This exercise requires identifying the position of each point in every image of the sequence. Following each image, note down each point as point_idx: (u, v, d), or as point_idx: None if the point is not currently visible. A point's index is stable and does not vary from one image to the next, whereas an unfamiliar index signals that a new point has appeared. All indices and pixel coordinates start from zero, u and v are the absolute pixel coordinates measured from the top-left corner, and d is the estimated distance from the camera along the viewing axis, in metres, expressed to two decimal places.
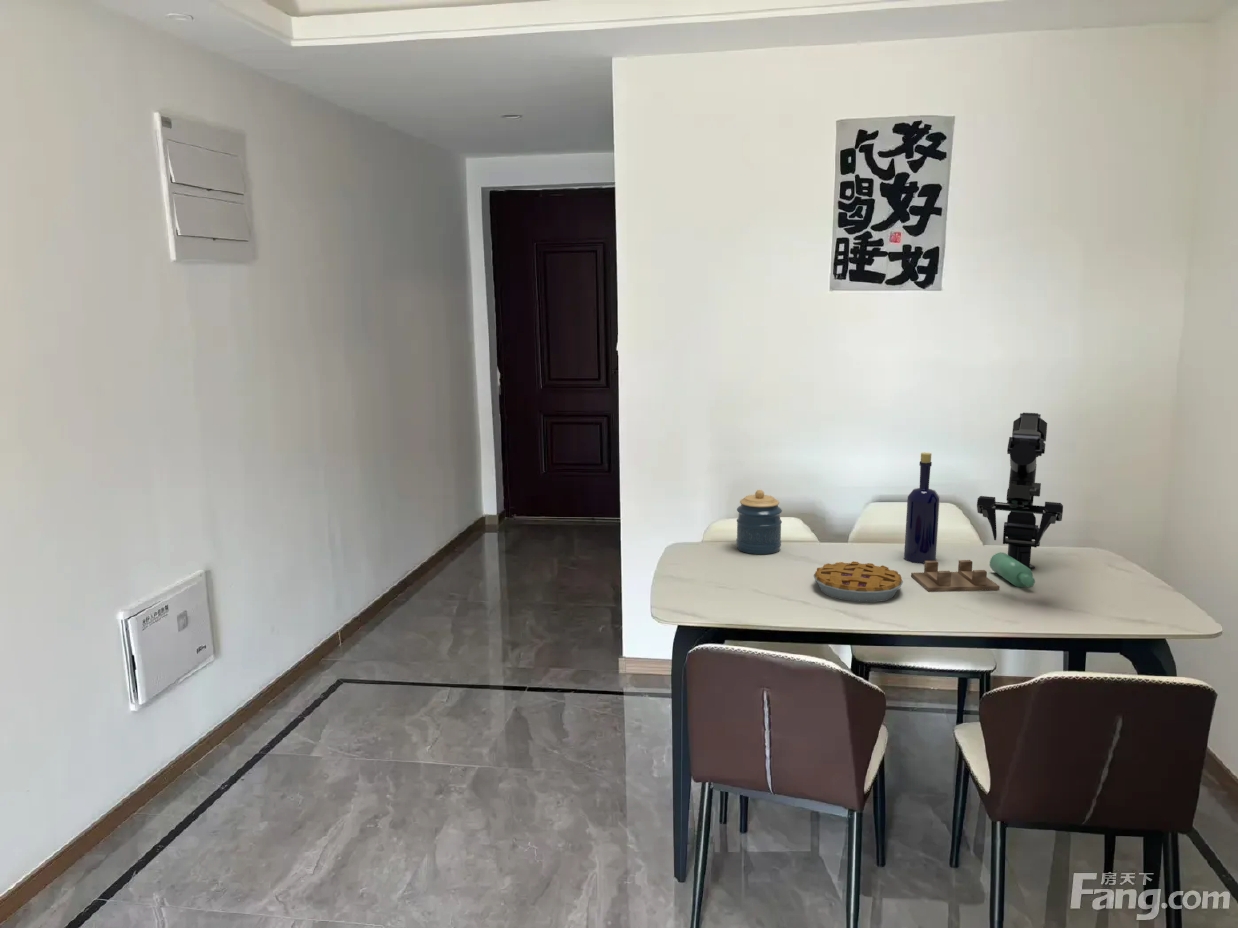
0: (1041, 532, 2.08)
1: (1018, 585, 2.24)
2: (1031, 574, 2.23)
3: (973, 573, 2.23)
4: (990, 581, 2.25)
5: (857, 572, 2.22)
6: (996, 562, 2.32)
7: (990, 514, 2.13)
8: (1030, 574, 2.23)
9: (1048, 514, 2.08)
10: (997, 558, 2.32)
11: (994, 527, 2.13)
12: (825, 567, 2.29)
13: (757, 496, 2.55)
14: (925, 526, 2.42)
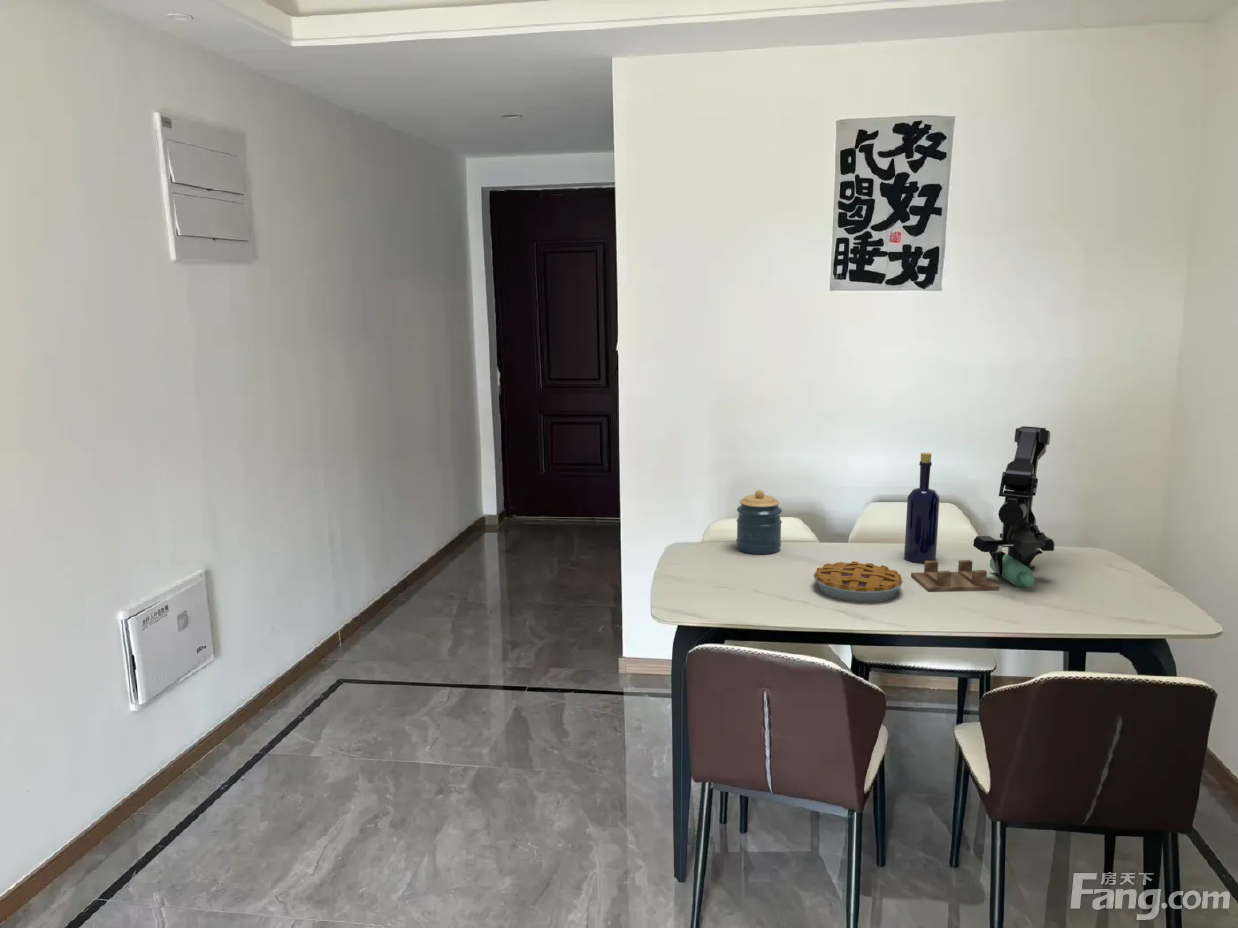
0: (1027, 566, 2.28)
1: (1018, 585, 2.24)
2: (1031, 574, 2.23)
3: (973, 573, 2.23)
4: (990, 581, 2.25)
5: (857, 572, 2.22)
6: None
7: (999, 556, 2.26)
8: (1030, 574, 2.23)
9: (1036, 553, 2.25)
10: None
11: (1001, 566, 2.27)
12: (825, 567, 2.29)
13: (757, 496, 2.55)
14: (925, 526, 2.42)
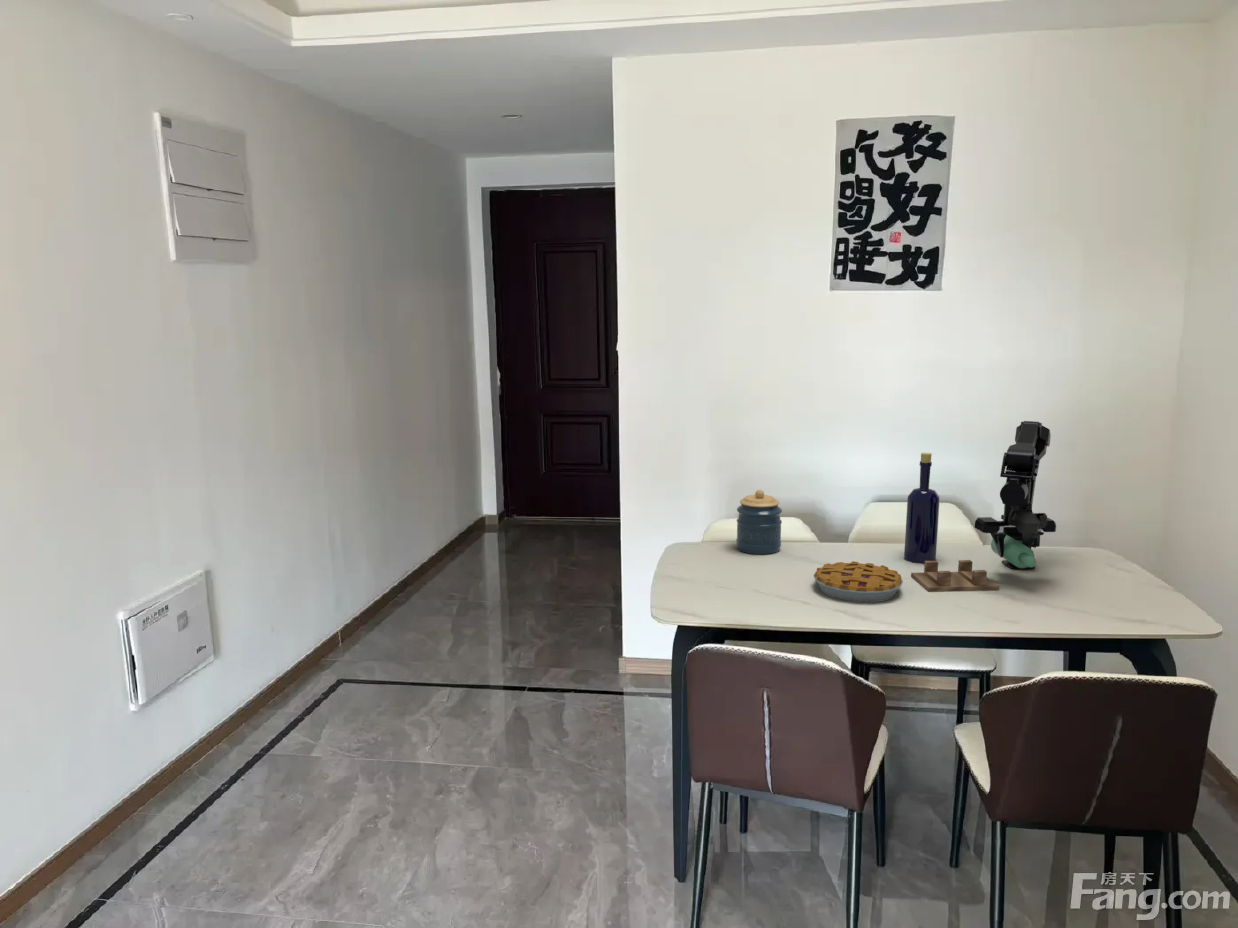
0: (1029, 547, 2.27)
1: (1019, 566, 2.23)
2: (1032, 555, 2.22)
3: (973, 573, 2.23)
4: (990, 581, 2.25)
5: (857, 572, 2.22)
6: None
7: (1000, 538, 2.25)
8: (1031, 555, 2.22)
9: (1038, 534, 2.24)
10: None
11: (1002, 548, 2.26)
12: (825, 567, 2.29)
13: (757, 496, 2.55)
14: (925, 526, 2.42)
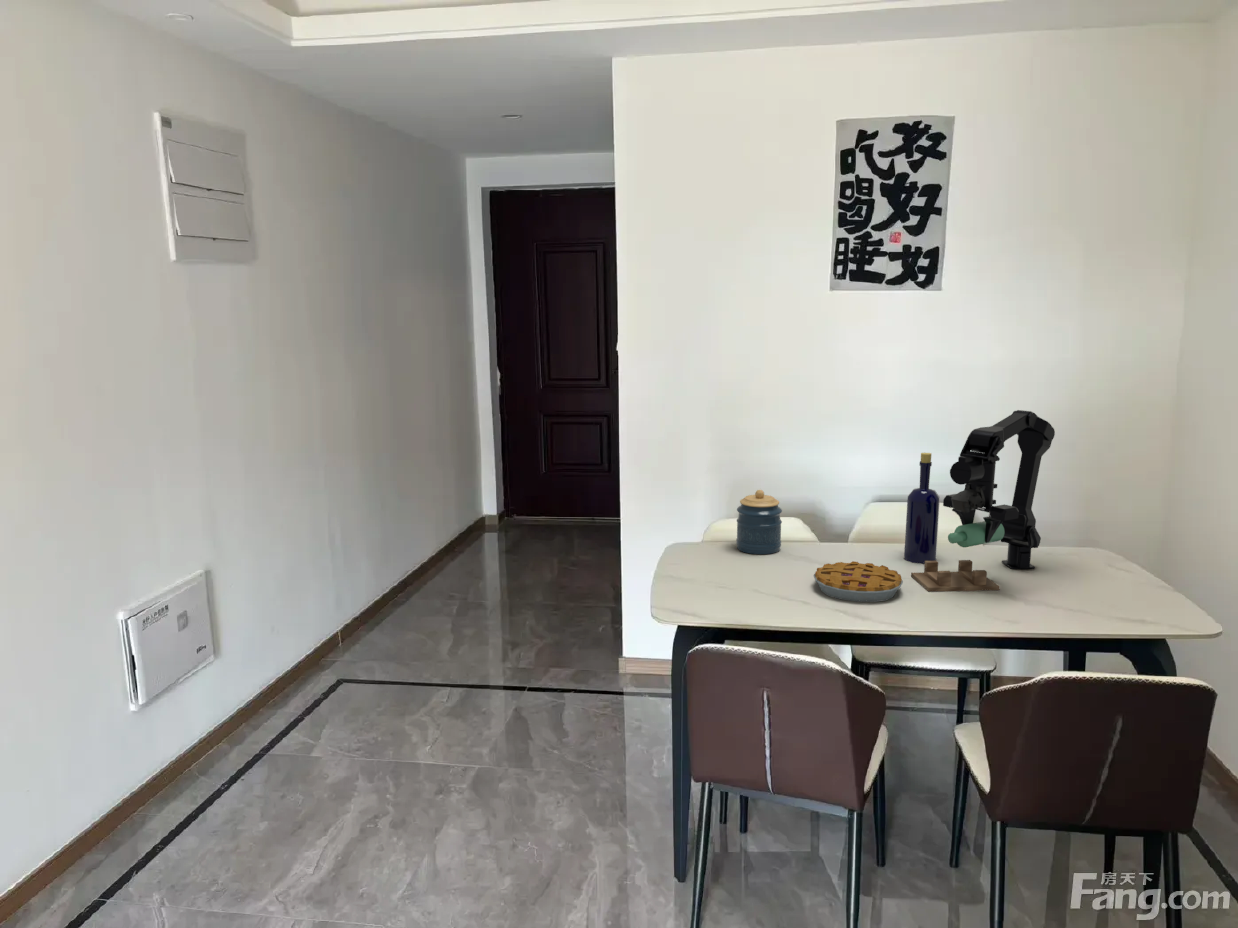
0: (987, 533, 2.21)
1: (960, 544, 2.24)
2: (971, 536, 2.21)
3: (973, 573, 2.23)
4: (990, 581, 2.25)
5: (857, 572, 2.22)
6: None
7: (959, 515, 2.27)
8: (970, 536, 2.21)
9: (987, 519, 2.19)
10: None
11: None
12: (825, 567, 2.29)
13: (757, 496, 2.55)
14: (925, 526, 2.42)
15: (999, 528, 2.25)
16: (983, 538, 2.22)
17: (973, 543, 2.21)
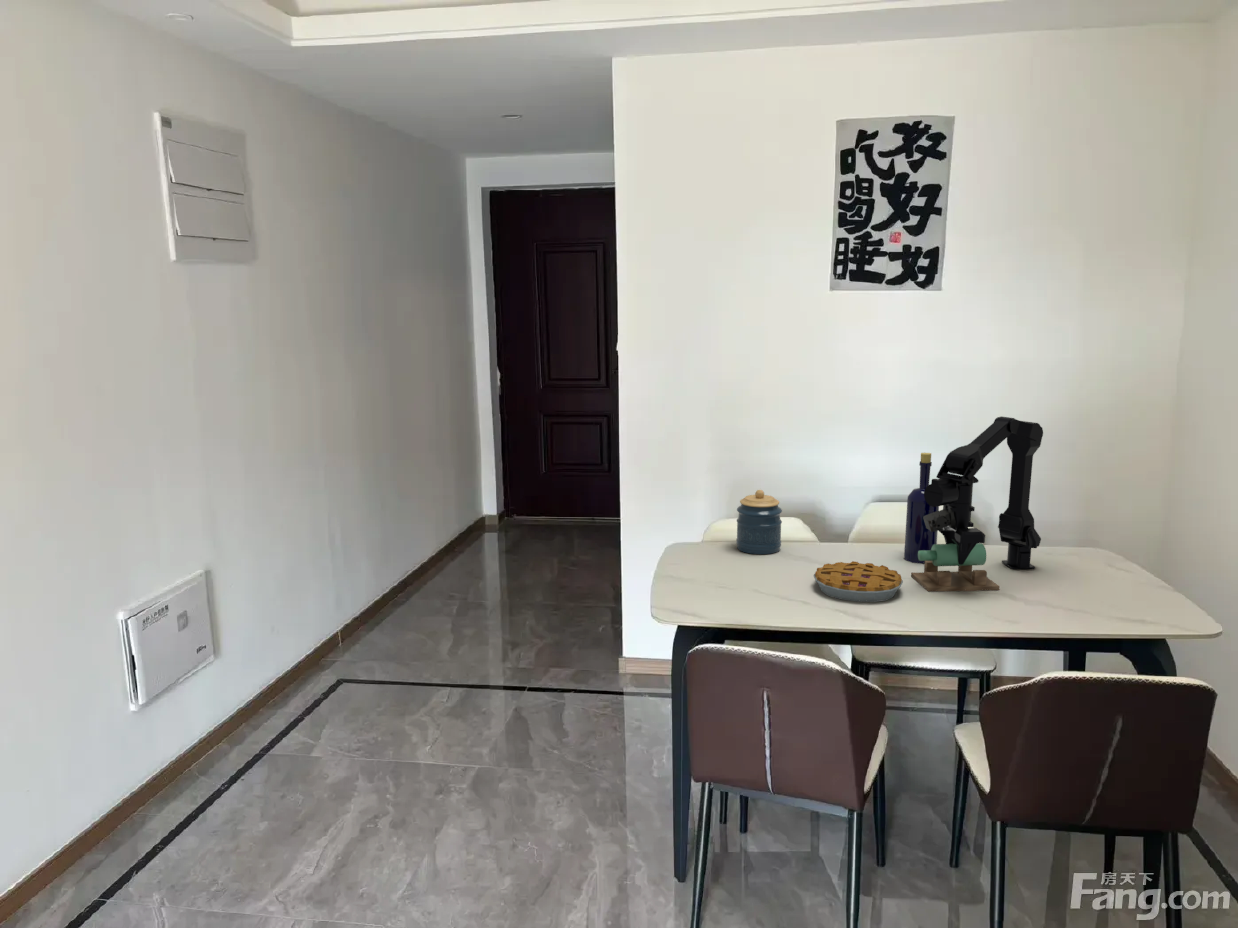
0: (958, 554, 2.22)
1: (933, 562, 2.27)
2: (938, 556, 2.23)
3: (973, 573, 2.23)
4: (990, 581, 2.25)
5: (857, 572, 2.22)
6: None
7: (943, 534, 2.29)
8: (938, 555, 2.24)
9: (954, 540, 2.20)
10: None
11: None
12: (825, 567, 2.29)
13: (757, 496, 2.55)
14: (925, 526, 2.42)
15: (979, 552, 2.23)
16: (955, 559, 2.23)
17: (942, 563, 2.24)
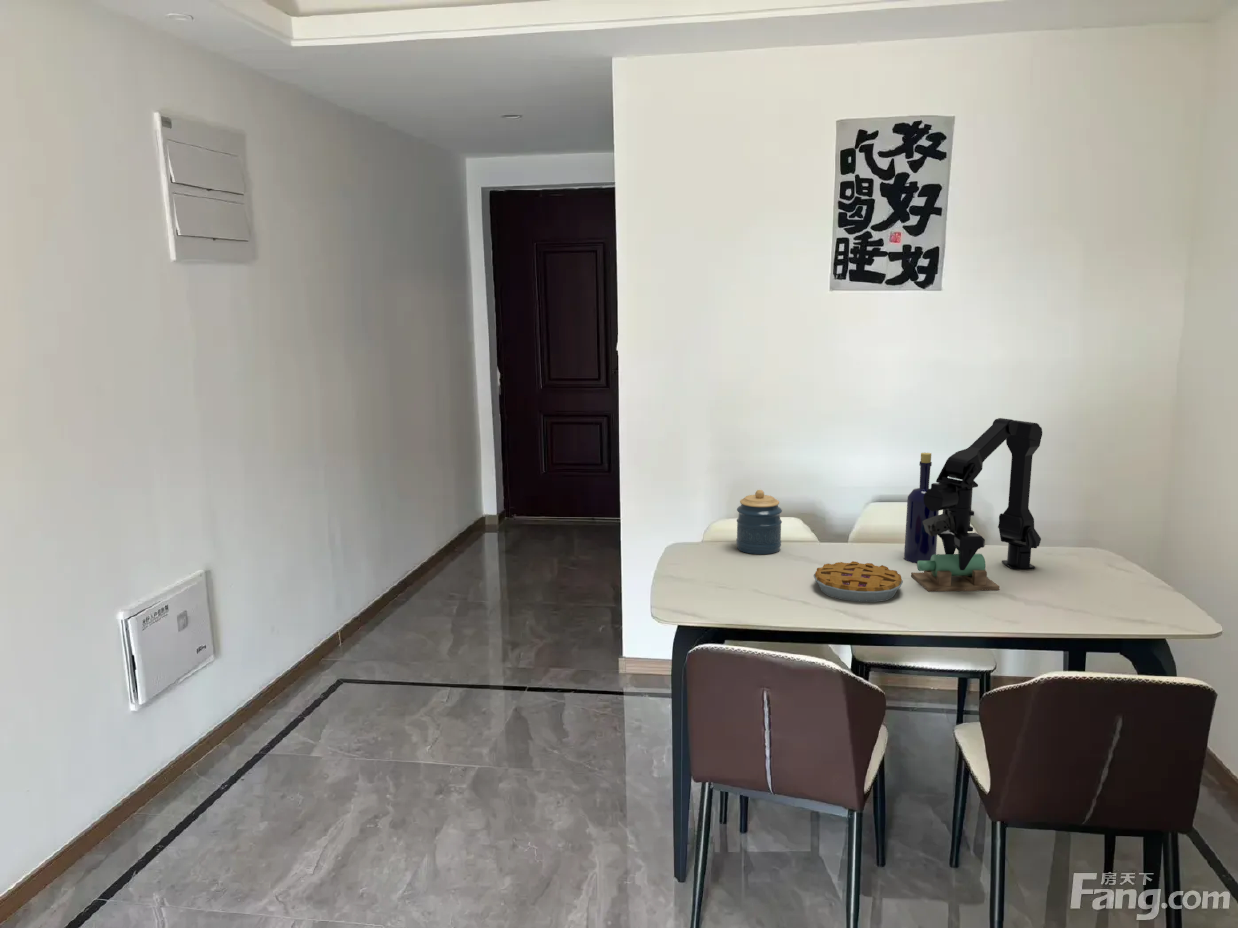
0: (959, 560, 2.21)
1: (932, 573, 2.27)
2: (938, 566, 2.24)
3: (973, 573, 2.23)
4: (990, 581, 2.25)
5: (857, 572, 2.22)
6: None
7: (941, 537, 2.31)
8: (937, 566, 2.24)
9: (955, 546, 2.19)
10: None
11: (945, 549, 2.30)
12: (825, 567, 2.29)
13: (757, 496, 2.55)
14: None
15: (978, 562, 2.24)
16: (955, 569, 2.24)
17: None
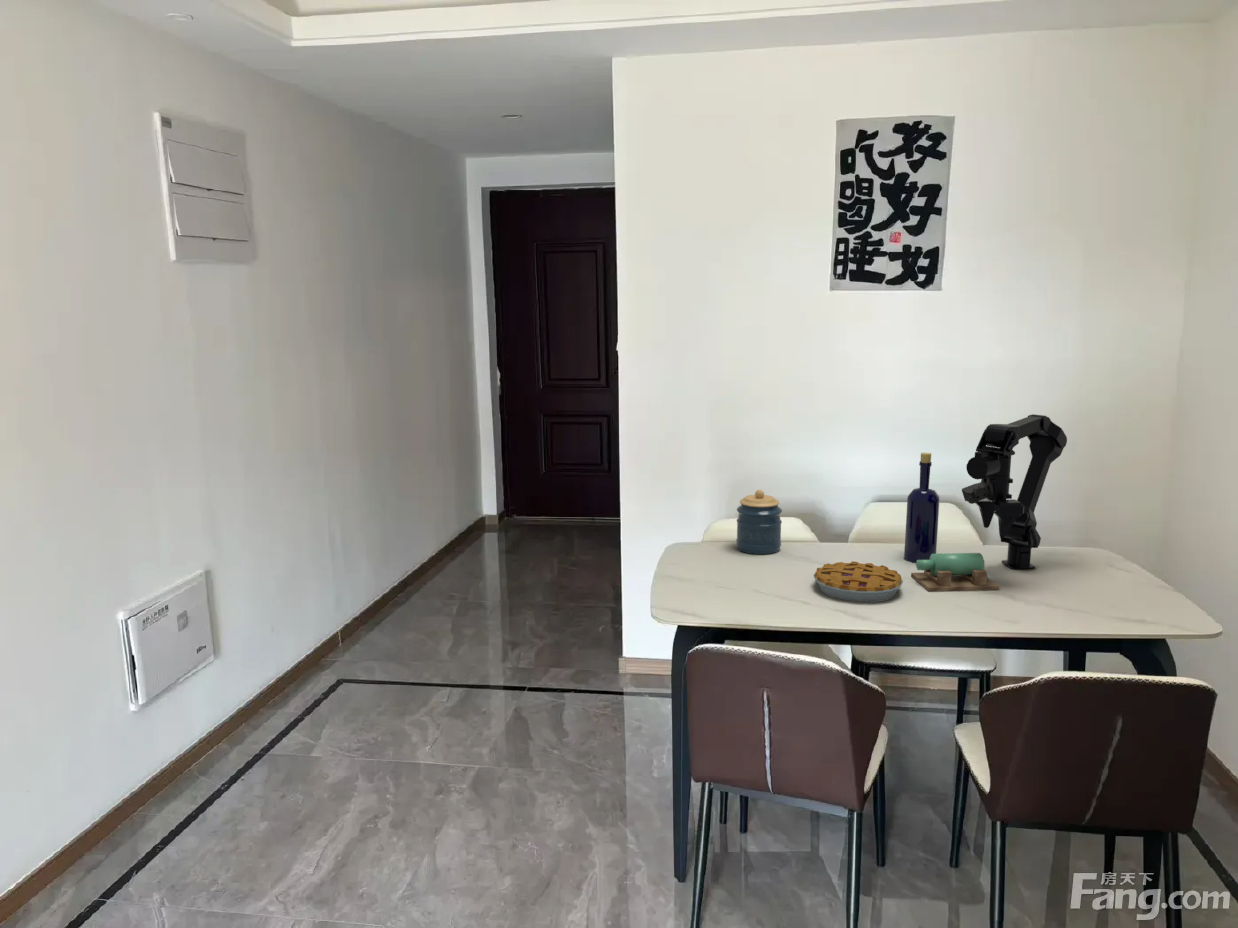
0: (999, 527, 2.25)
1: (932, 573, 2.28)
2: (936, 563, 2.25)
3: (973, 573, 2.23)
4: (990, 581, 2.25)
5: (857, 572, 2.22)
6: None
7: (978, 505, 2.35)
8: (936, 563, 2.25)
9: (996, 513, 2.23)
10: None
11: (982, 517, 2.35)
12: (825, 567, 2.29)
13: (757, 496, 2.55)
14: (925, 526, 2.42)
15: (977, 559, 2.25)
16: (954, 566, 2.24)
17: (941, 570, 2.25)
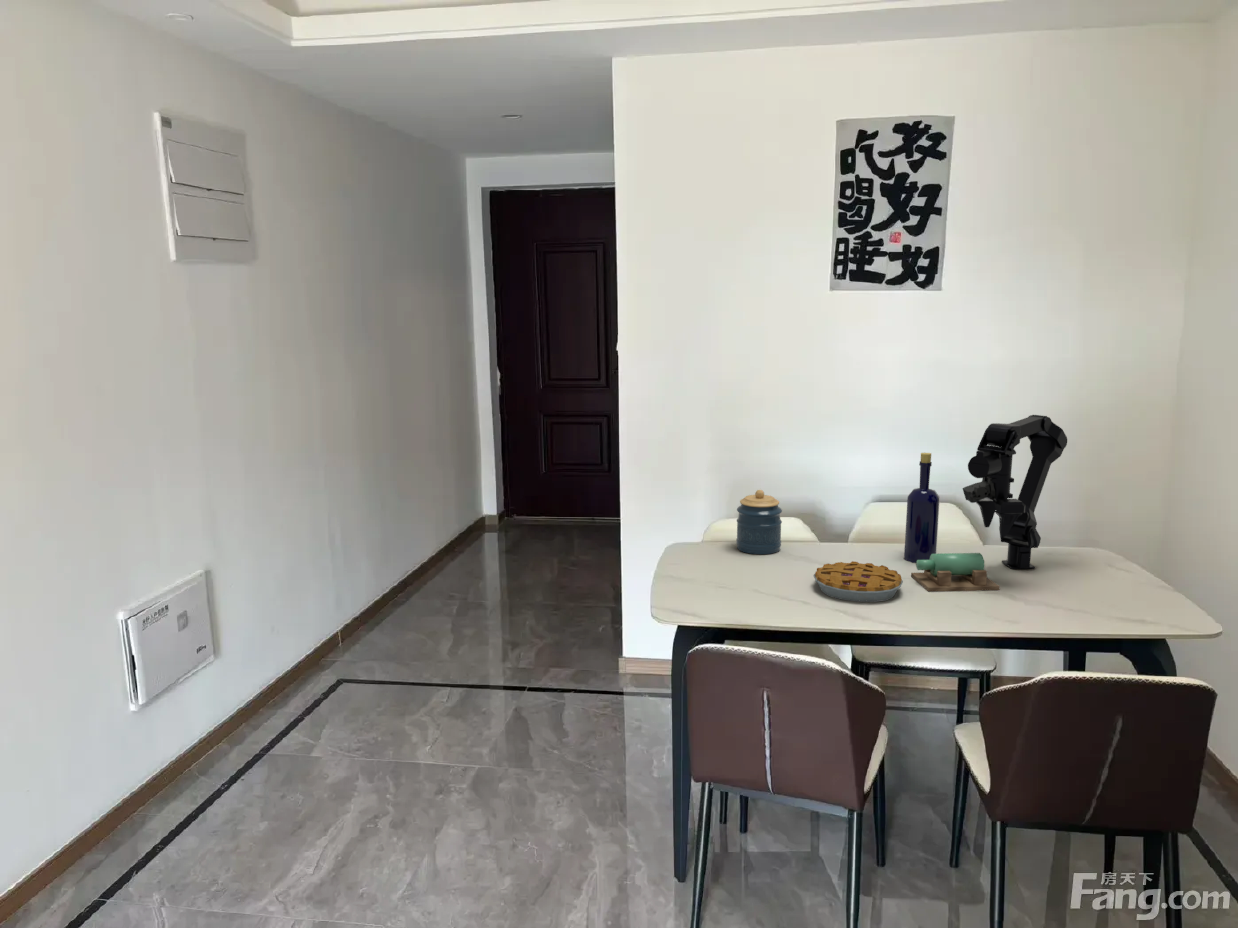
0: (1000, 527, 2.25)
1: (932, 573, 2.28)
2: (936, 563, 2.25)
3: (973, 573, 2.23)
4: (990, 581, 2.25)
5: (857, 572, 2.22)
6: None
7: (979, 505, 2.35)
8: (936, 563, 2.25)
9: (997, 513, 2.23)
10: None
11: (983, 516, 2.35)
12: (825, 567, 2.29)
13: (757, 496, 2.55)
14: (925, 526, 2.42)
15: (977, 559, 2.25)
16: (954, 566, 2.24)
17: (941, 570, 2.25)
